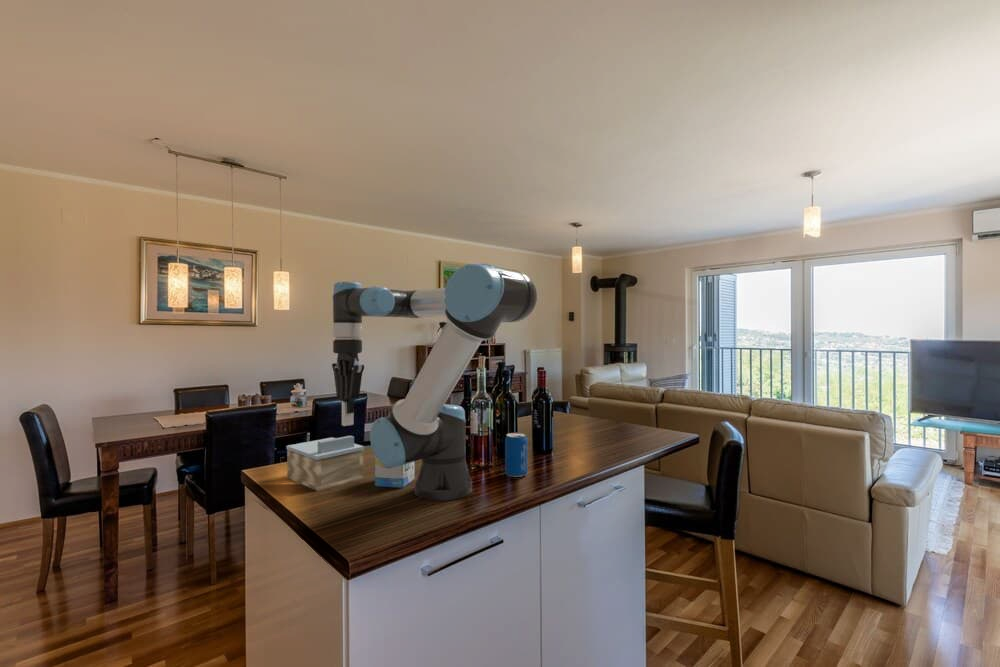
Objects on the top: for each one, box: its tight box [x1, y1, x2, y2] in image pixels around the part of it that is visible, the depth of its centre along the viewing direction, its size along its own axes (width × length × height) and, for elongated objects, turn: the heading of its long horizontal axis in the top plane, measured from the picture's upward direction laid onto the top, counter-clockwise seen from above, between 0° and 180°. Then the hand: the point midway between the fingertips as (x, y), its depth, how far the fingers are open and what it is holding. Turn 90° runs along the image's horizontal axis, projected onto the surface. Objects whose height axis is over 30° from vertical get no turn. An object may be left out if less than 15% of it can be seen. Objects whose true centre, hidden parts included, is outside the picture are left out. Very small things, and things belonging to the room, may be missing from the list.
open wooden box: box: [286, 449, 364, 492], centre depth 133 cm, size 18×14×8 cm
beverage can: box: [504, 432, 528, 477], centre depth 134 cm, size 6×6×12 cm
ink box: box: [374, 455, 415, 489], centre depth 129 cm, size 8×8×12 cm
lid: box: [285, 435, 365, 460], centre depth 133 cm, size 18×14×4 cm
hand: (347, 424), depth 125 cm, fingers closed
